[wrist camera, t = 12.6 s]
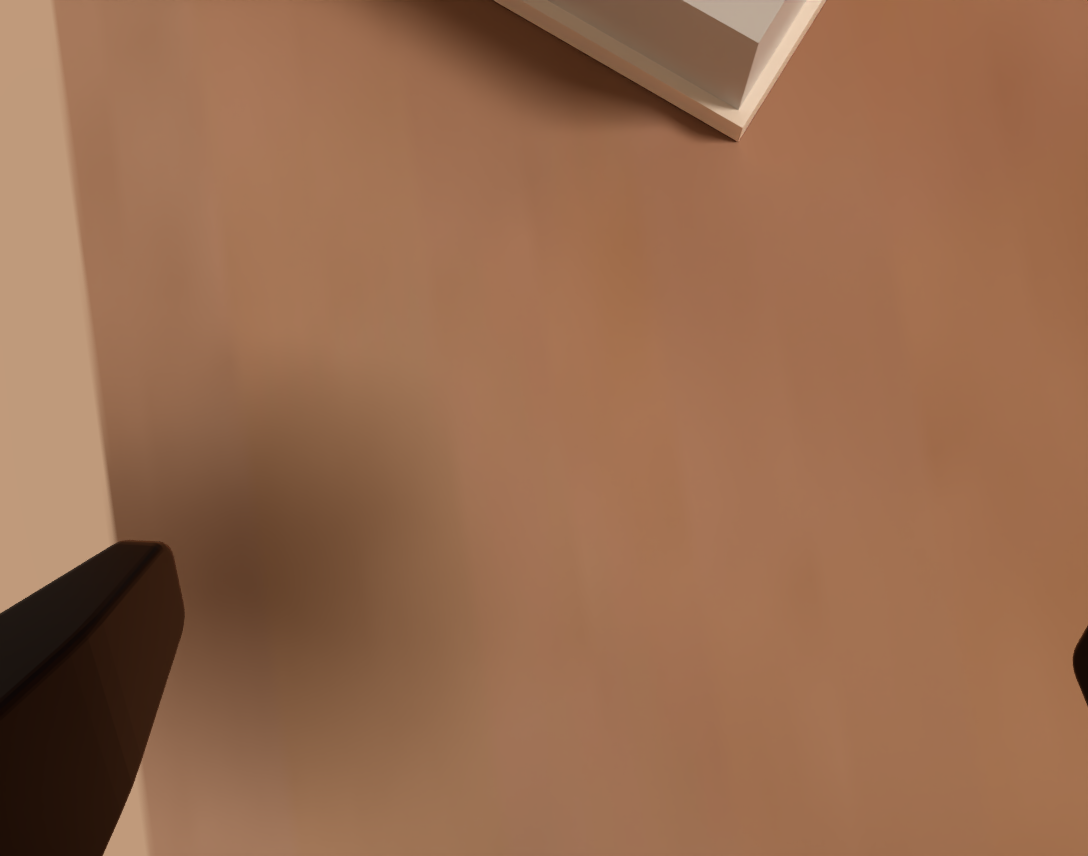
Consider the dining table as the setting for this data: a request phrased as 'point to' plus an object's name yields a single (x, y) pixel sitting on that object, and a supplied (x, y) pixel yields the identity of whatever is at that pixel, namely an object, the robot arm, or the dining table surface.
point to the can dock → (685, 47)
